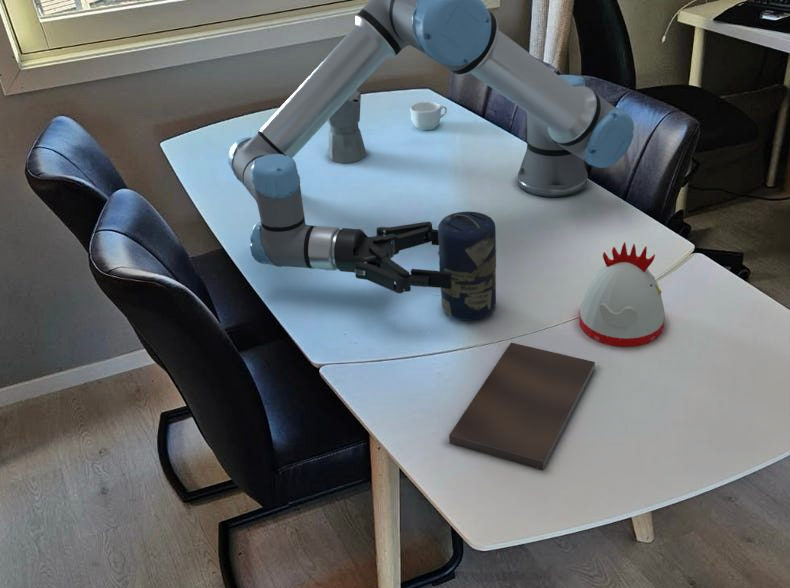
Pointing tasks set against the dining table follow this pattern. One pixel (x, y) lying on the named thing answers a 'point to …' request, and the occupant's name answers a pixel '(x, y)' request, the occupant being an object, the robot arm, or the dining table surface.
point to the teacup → (426, 114)
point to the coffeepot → (346, 132)
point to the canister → (468, 264)
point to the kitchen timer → (623, 301)
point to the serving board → (523, 405)
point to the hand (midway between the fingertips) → (460, 259)
